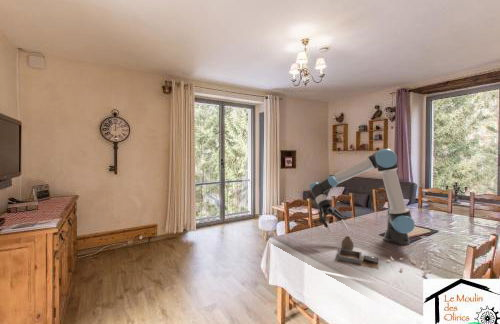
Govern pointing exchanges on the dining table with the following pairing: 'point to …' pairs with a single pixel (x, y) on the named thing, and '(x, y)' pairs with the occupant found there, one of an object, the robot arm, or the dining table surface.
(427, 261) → the dining table surface
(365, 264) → the flange board
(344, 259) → the grey tray board
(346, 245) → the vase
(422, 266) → the game piece set
